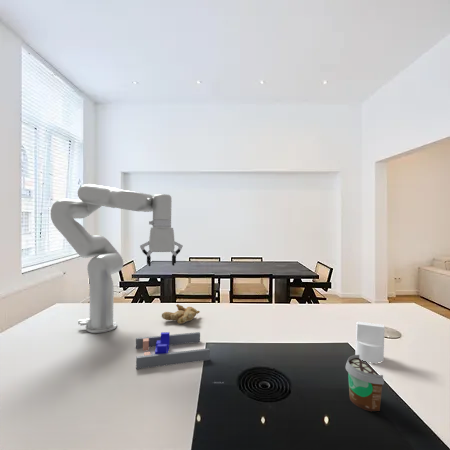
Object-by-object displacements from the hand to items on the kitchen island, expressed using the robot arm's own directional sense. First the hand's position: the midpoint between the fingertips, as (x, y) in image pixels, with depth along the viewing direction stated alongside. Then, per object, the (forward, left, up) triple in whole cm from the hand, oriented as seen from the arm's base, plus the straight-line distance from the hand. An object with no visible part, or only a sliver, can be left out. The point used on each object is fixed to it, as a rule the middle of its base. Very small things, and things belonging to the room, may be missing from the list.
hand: (161, 265), depth 125 cm
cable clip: (-2, -20, -29) cm, 35 cm away
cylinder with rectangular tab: (+69, -41, -29) cm, 85 cm away
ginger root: (+12, +13, -29) cm, 34 cm away
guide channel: (+2, -20, -28) cm, 35 cm away
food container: (+47, -61, -28) cm, 82 cm away
